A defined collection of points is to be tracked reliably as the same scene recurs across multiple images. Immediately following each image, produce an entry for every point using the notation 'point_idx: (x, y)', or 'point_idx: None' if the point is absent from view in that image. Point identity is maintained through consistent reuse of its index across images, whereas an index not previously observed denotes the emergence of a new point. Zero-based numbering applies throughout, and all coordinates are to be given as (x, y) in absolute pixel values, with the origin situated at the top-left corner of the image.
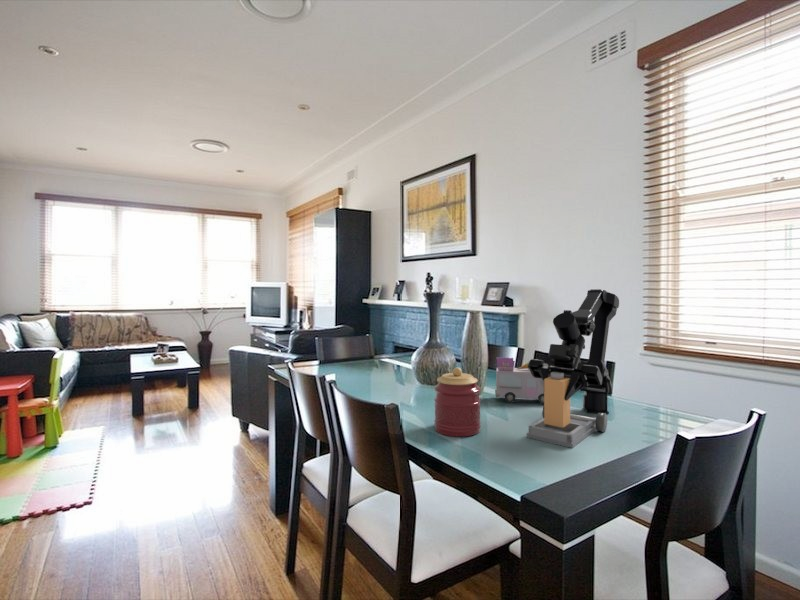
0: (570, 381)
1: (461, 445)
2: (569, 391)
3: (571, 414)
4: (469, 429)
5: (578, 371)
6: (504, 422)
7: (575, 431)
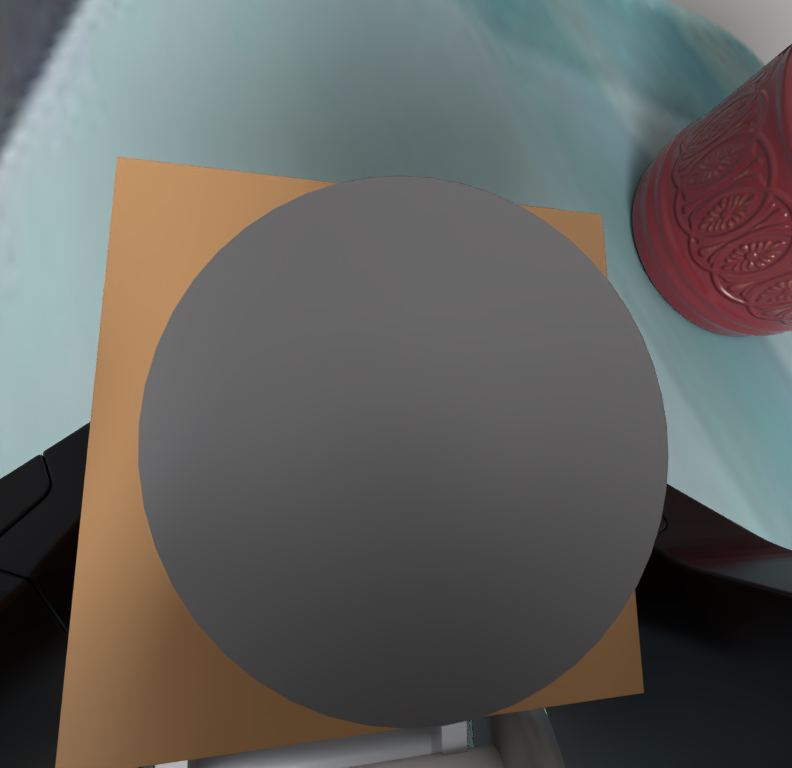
0: (32, 556)
1: (596, 80)
2: None
3: None
4: (659, 163)
5: None
6: None
7: None
